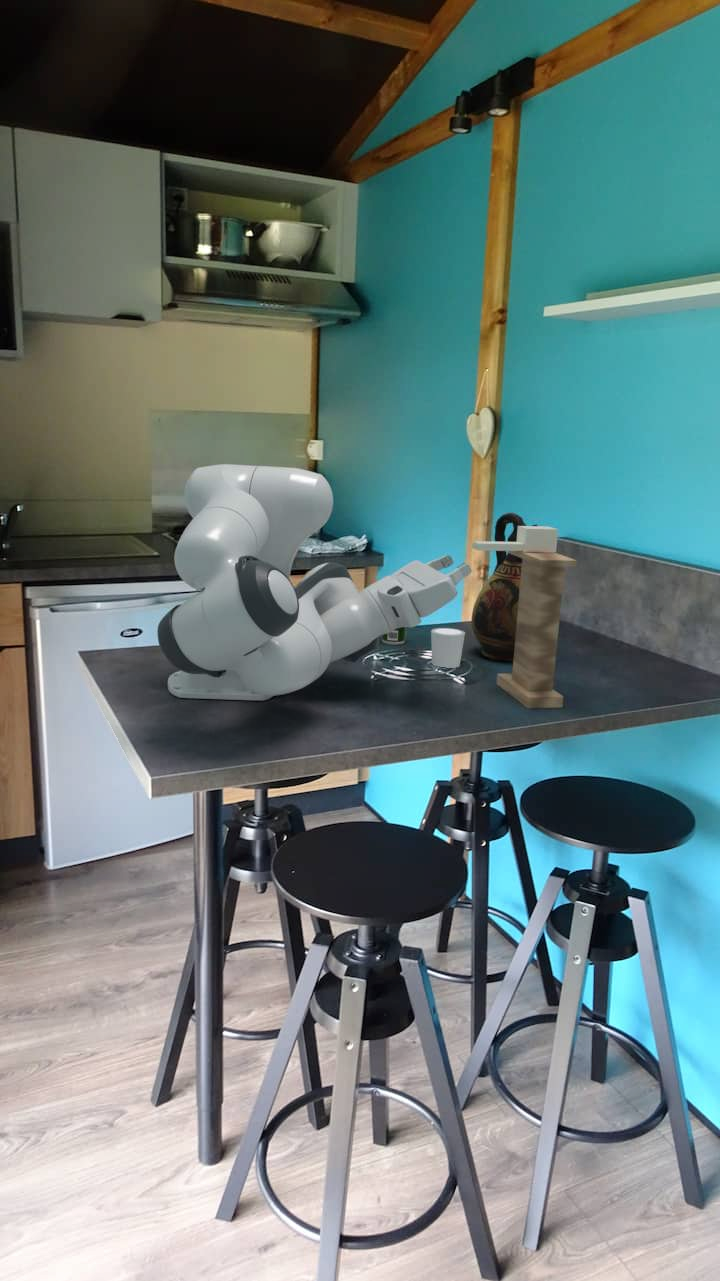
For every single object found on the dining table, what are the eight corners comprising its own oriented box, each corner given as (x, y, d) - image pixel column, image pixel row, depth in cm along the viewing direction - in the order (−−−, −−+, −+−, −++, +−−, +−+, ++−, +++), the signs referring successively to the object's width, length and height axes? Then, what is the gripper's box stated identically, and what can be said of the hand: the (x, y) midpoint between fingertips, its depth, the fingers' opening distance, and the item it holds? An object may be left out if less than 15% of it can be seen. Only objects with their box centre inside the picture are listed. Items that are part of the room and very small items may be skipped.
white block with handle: (478, 550, 161) (480, 527, 160) (471, 547, 165) (472, 525, 164) (556, 551, 164) (558, 529, 163) (546, 548, 168) (548, 526, 167)
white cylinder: (465, 669, 184) (468, 635, 182) (431, 668, 184) (433, 634, 182) (460, 660, 191) (462, 627, 189) (426, 659, 190) (429, 626, 189)
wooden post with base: (527, 708, 161) (541, 559, 155) (496, 683, 175) (508, 546, 169) (562, 707, 162) (577, 559, 156) (528, 683, 177) (541, 546, 170)
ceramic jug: (557, 660, 195) (571, 517, 188) (503, 668, 186) (515, 519, 179) (502, 642, 208) (513, 508, 201) (449, 649, 200) (459, 510, 193)
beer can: (406, 645, 201) (409, 591, 198) (381, 644, 201) (384, 590, 198) (403, 639, 207) (407, 586, 204) (379, 639, 206) (382, 585, 203)
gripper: (384, 605, 172) (448, 568, 173) (416, 629, 153) (487, 588, 154) (369, 576, 170) (434, 539, 171) (399, 597, 151) (472, 555, 152)
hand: (459, 562), depth 163 cm, fingers open, 8 cm apart
